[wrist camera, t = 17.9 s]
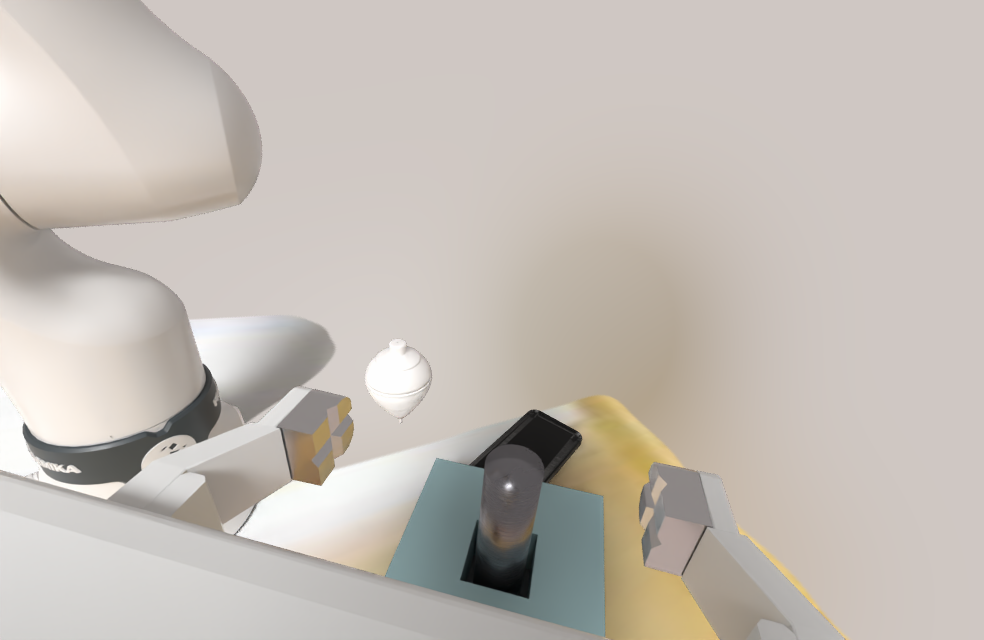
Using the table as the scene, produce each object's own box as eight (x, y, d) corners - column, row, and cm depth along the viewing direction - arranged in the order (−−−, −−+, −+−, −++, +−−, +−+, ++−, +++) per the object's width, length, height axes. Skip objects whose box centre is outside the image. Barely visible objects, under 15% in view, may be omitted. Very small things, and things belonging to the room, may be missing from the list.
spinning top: (426, 447, 51) (427, 364, 45) (361, 443, 50) (353, 359, 44) (434, 404, 57) (436, 327, 51) (377, 400, 57) (371, 322, 51)
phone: (585, 435, 53) (516, 516, 43) (583, 442, 54) (515, 523, 43) (532, 406, 57) (457, 473, 47) (531, 413, 58) (457, 481, 47)
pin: (462, 597, 35) (472, 470, 28) (489, 559, 38) (505, 436, 31) (502, 629, 34) (525, 502, 26) (527, 587, 36) (554, 462, 29)
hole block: (363, 682, 31) (356, 640, 28) (435, 498, 45) (436, 458, 42) (587, 753, 28) (606, 716, 25) (590, 536, 42) (603, 496, 39)
